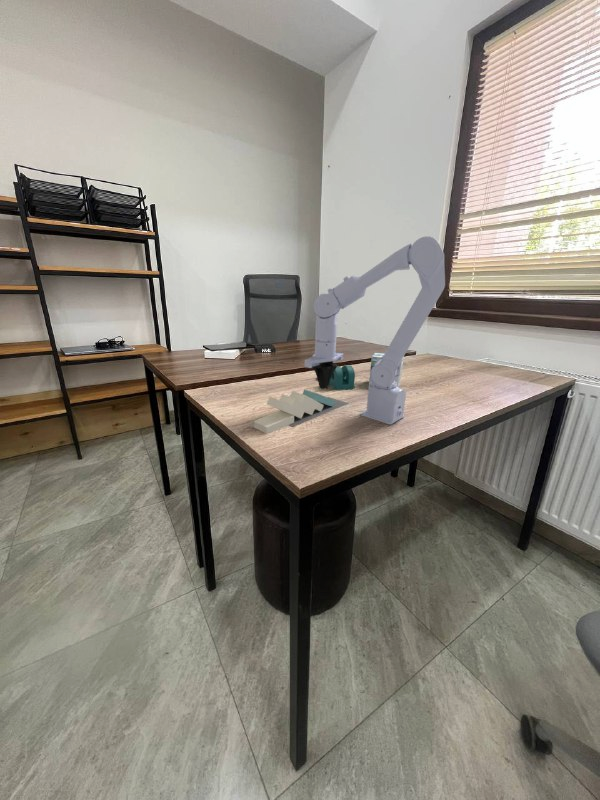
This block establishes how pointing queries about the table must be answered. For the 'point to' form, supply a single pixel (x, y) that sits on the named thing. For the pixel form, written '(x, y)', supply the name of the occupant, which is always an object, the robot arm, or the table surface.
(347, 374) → the bracket
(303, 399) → the tile
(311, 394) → the tile
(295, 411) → the tile
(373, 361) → the light bulb box
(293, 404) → the tile
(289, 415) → the tile
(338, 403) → the mat
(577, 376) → the table surface
